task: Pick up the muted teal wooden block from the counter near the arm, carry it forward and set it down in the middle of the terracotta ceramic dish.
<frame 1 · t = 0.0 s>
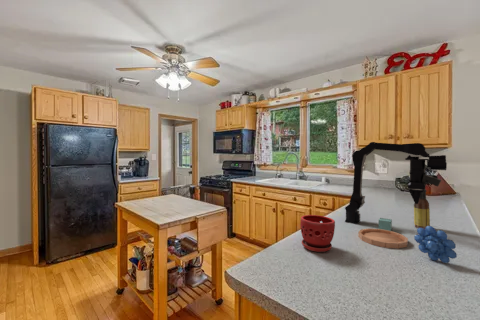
hand: (417, 202, 108), 15 cm above the countertop, tool pointing down, fingers open, 9 cm apart
sauce bottle: (421, 228, 115), on the countertop
plant pot: (317, 247, 92), on the countertop
grapes: (433, 261, 79), on the countertop
dish: (382, 239, 99), on the countertop
block: (385, 229, 113), on the countertop
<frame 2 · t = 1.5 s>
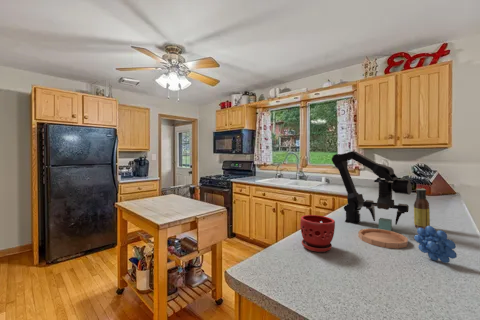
hand: (384, 222, 113), 3 cm above the countertop, tool pointing down, fingers open, 9 cm apart
nothing on the countertop moved.
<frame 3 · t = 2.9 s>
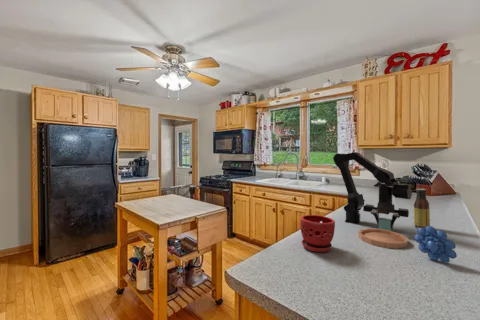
hand: (385, 227, 113), 1 cm above the countertop, tool pointing down, fingers closed on block, 5 cm apart
block: (385, 229, 113), on the countertop, touching gripper
everything else where it was.
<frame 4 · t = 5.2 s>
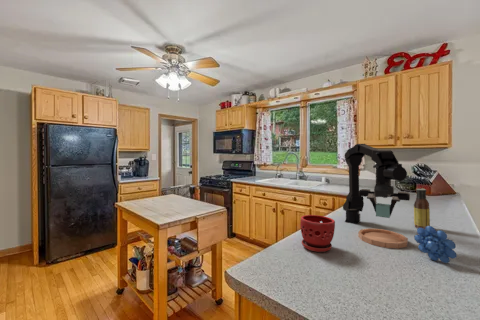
hand: (383, 213, 100), 11 cm above the countertop, tool pointing down, fingers closed on block, 5 cm apart
block: (383, 216, 100), point 10 cm above the countertop, touching gripper
everything else where it was.
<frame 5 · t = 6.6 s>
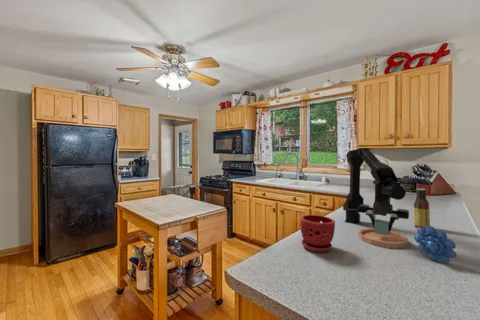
hand: (382, 230, 99), 4 cm above the countertop, tool pointing down, fingers closed on block, 5 cm apart
block: (382, 232, 99), point 3 cm above the countertop, touching gripper
everything else where it was.
when the fingers open (3 cm above the countertop, at t = 7.5 s): block drops 2 cm, resting on dish.
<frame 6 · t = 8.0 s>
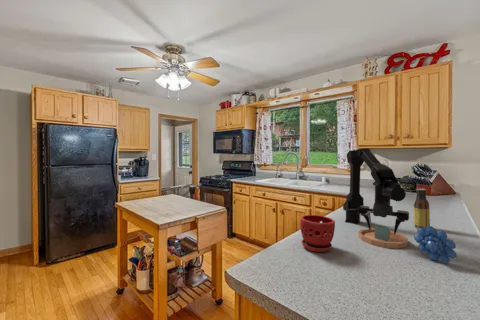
hand: (382, 231, 99), 3 cm above the countertop, tool pointing down, fingers open, 9 cm apart
block: (382, 237, 99), point 1 cm above the countertop, touching dish
everything else where it was.
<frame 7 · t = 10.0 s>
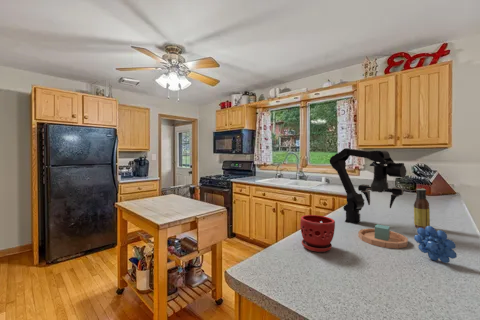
hand: (379, 206, 113), 11 cm above the countertop, tool pointing down, fingers open, 9 cm apart
nothing on the countertop moved.
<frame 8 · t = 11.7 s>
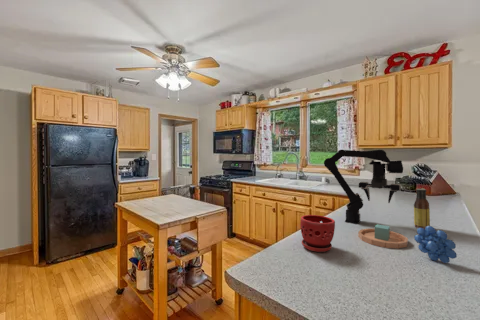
hand: (378, 201, 121), 12 cm above the countertop, tool pointing down, fingers open, 9 cm apart
nothing on the countertop moved.
at the end: block inside the target area on the dish (0.1 cm from its centre), point 0.8 cm above the dish's base; the gripper is holding nothing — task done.
